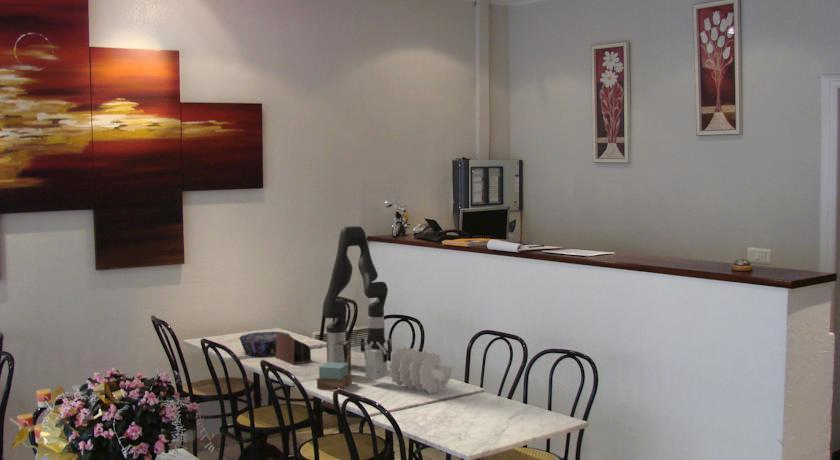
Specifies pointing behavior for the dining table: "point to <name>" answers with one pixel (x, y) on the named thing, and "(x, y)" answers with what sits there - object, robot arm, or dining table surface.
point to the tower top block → (333, 370)
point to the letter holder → (291, 350)
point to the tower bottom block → (334, 383)
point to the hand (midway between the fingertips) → (376, 361)
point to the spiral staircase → (419, 370)
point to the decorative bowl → (260, 343)
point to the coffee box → (342, 353)
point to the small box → (375, 363)
